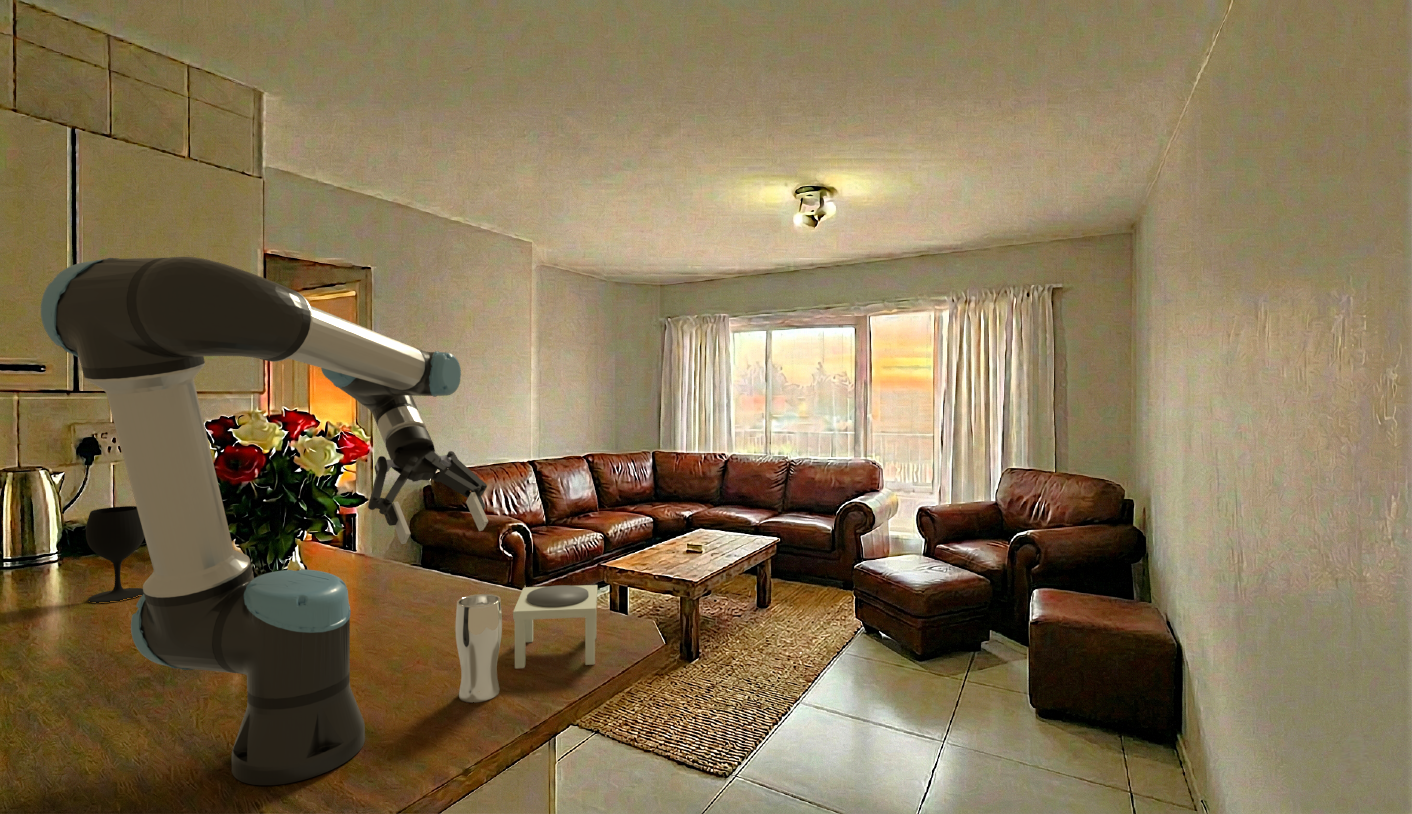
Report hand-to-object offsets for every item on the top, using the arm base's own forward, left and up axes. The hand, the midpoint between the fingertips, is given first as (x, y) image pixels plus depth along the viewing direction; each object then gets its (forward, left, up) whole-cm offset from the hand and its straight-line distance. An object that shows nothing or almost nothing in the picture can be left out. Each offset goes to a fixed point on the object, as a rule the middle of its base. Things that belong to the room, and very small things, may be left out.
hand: (446, 532), depth 114 cm
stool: (+18, +8, -24) cm, 31 cm away
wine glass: (-84, +53, -24) cm, 102 cm away
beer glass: (+7, -8, -24) cm, 27 cm away
